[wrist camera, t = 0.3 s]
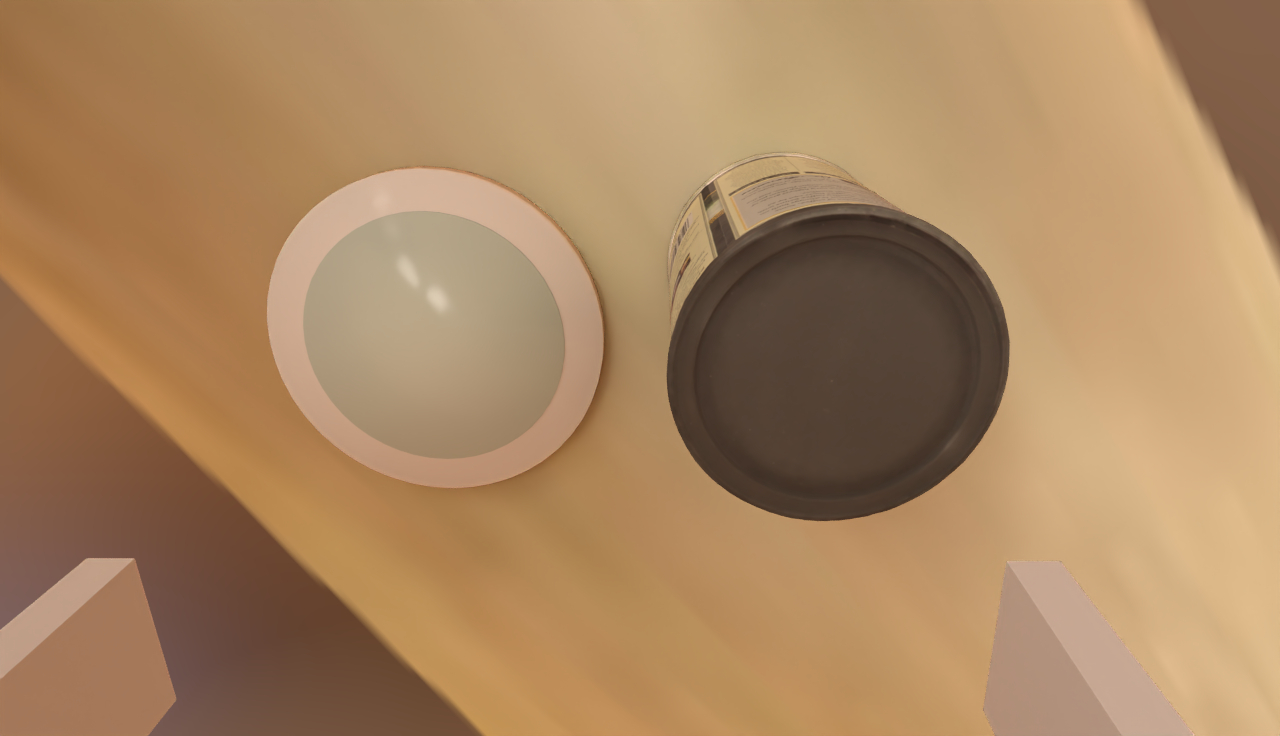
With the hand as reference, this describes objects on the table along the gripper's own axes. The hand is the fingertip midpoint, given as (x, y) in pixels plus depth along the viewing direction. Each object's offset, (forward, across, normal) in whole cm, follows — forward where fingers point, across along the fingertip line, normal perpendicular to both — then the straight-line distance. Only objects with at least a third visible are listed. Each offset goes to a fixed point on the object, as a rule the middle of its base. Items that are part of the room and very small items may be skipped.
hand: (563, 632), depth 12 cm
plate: (+27, -10, -4) cm, 29 cm away
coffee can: (+27, +6, -1) cm, 28 cm away
